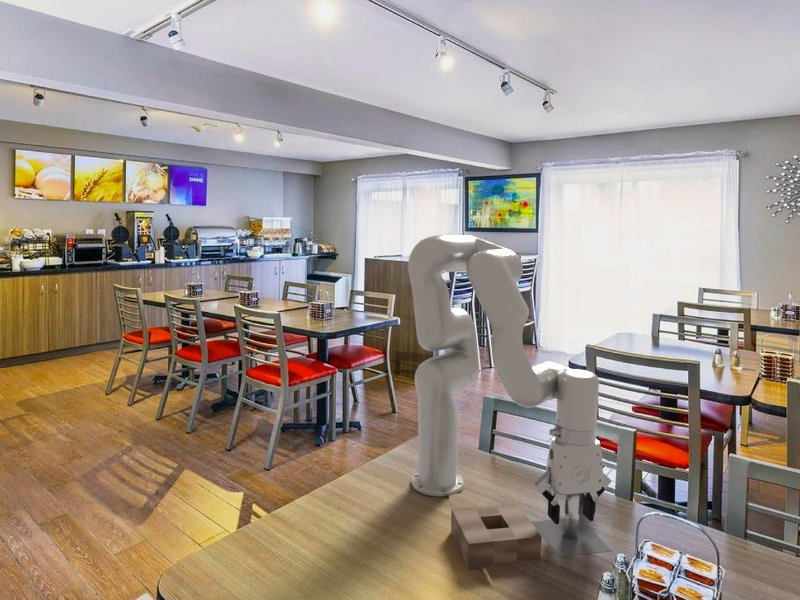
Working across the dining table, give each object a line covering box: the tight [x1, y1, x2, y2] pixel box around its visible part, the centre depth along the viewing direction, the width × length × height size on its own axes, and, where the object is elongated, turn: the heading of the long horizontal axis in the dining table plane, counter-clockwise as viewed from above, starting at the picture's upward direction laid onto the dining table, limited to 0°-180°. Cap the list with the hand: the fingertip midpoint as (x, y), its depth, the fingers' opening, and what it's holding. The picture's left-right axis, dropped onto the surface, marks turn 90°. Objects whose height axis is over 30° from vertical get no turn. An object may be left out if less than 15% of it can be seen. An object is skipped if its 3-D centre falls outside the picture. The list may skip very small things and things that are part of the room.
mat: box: [531, 516, 613, 558], centre depth 105 cm, size 12×11×1 cm
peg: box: [562, 494, 581, 540], centre depth 105 cm, size 3×3×10 cm
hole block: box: [450, 503, 543, 570], centre depth 102 cm, size 12×14×5 cm
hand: (571, 518), depth 105 cm, fingers open, 6 cm apart
